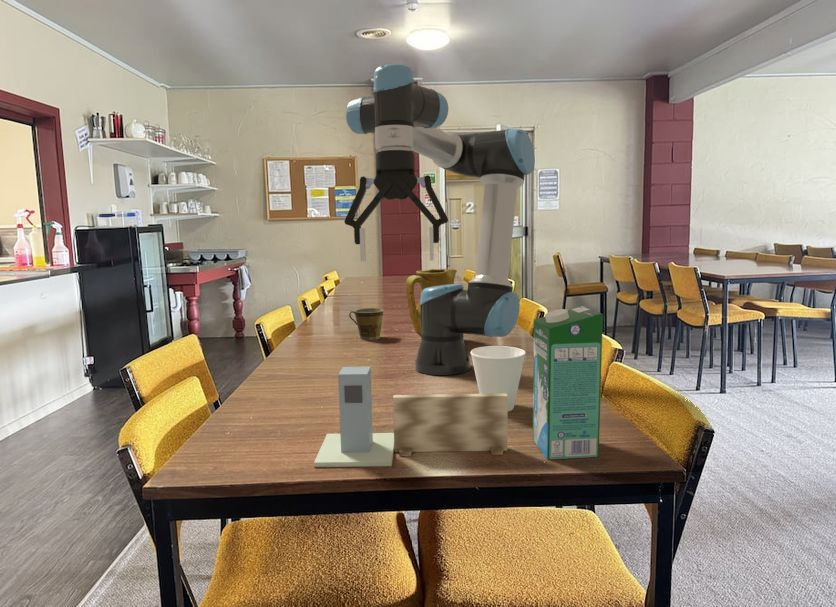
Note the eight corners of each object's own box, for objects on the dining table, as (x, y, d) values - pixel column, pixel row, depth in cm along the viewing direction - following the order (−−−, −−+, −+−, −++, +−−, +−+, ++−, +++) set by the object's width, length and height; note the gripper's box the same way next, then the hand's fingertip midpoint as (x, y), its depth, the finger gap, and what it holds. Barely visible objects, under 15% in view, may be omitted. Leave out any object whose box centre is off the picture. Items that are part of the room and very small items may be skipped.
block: (345, 441, 104) (342, 366, 102) (372, 441, 104) (370, 366, 102) (341, 452, 99) (337, 374, 97) (369, 452, 99) (367, 374, 97)
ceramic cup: (389, 336, 202) (388, 308, 200) (375, 342, 193) (374, 313, 191) (357, 334, 207) (356, 307, 206) (342, 339, 198) (341, 311, 197)
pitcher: (468, 347, 180) (463, 268, 178) (410, 351, 181) (404, 272, 178) (464, 338, 197) (460, 266, 195) (411, 341, 198) (406, 270, 195)
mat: (314, 467, 95) (313, 462, 95) (327, 437, 108) (327, 433, 108) (391, 466, 95) (391, 461, 95) (395, 436, 108) (395, 432, 108)
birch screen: (393, 456, 99) (392, 400, 98) (395, 444, 104) (394, 392, 102) (508, 454, 99) (509, 399, 97) (504, 443, 104) (504, 390, 102)
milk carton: (532, 439, 105) (533, 306, 102) (579, 437, 106) (583, 304, 102) (547, 460, 96) (549, 314, 93) (599, 457, 97) (603, 312, 93)
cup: (461, 403, 127) (460, 349, 125) (506, 396, 131) (506, 343, 130) (488, 419, 116) (488, 360, 114) (536, 411, 121) (537, 354, 119)
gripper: (327, 149, 106) (331, 263, 109) (460, 147, 106) (461, 260, 109) (333, 154, 114) (337, 260, 117) (458, 151, 113) (458, 258, 117)
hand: (397, 260), depth 113 cm, fingers open, 13 cm apart
